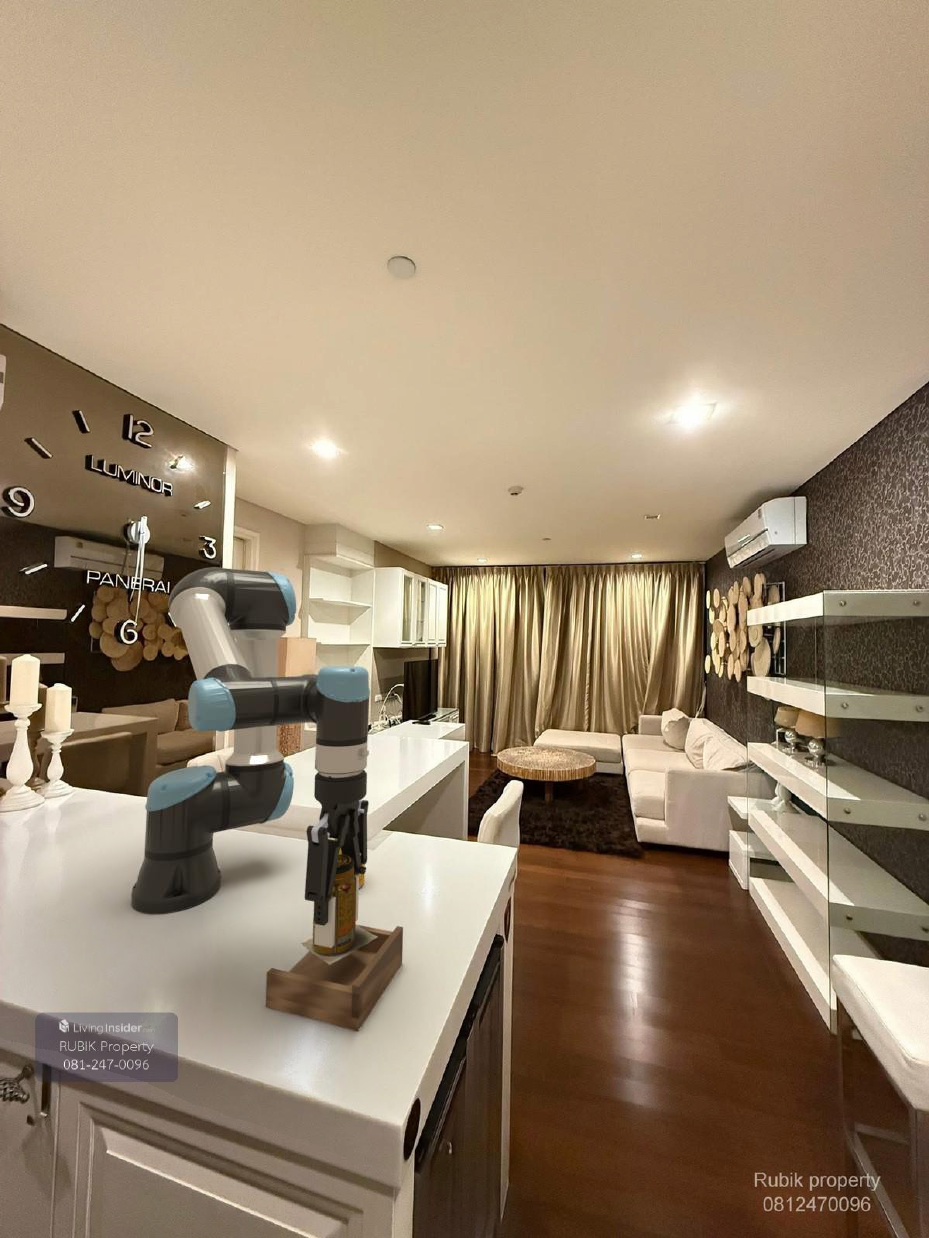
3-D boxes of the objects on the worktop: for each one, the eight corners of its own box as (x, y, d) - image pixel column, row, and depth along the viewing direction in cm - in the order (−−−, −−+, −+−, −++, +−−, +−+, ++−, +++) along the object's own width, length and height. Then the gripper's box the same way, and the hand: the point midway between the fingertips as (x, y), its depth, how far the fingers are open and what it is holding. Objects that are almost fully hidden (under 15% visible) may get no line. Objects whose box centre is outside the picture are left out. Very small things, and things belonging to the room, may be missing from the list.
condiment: (300, 944, 72) (302, 860, 73) (348, 920, 79) (350, 843, 79) (329, 966, 68) (331, 876, 68) (378, 939, 74) (380, 856, 75)
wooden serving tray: (265, 1006, 67) (266, 964, 68) (322, 946, 81) (323, 911, 81) (358, 1031, 63) (359, 986, 64) (402, 963, 77) (403, 927, 77)
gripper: (328, 791, 63) (323, 978, 62) (391, 758, 82) (388, 902, 81) (278, 785, 66) (272, 966, 64) (350, 755, 84) (347, 895, 83)
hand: (337, 930), depth 73 cm, fingers closed on condiment, 6 cm apart
